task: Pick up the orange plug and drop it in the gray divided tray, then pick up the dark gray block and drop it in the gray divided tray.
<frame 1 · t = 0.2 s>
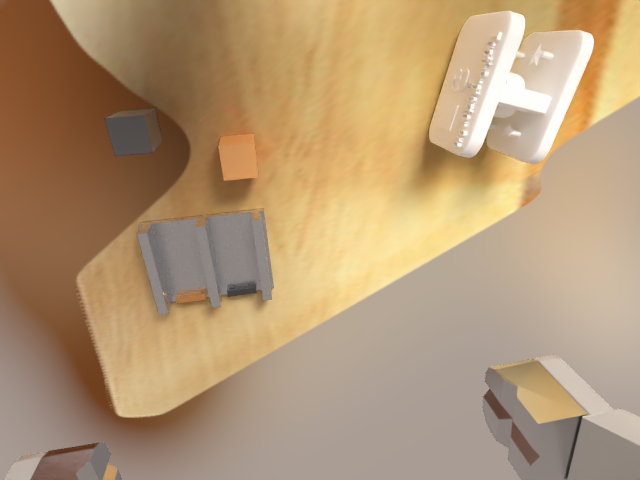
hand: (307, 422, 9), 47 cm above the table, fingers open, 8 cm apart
orange plug: (239, 150, 53), on the table
dark gray block: (142, 126, 50), on the table
cable organizer: (473, 88, 54), on the table
gray divided tray: (211, 255, 58), on the table
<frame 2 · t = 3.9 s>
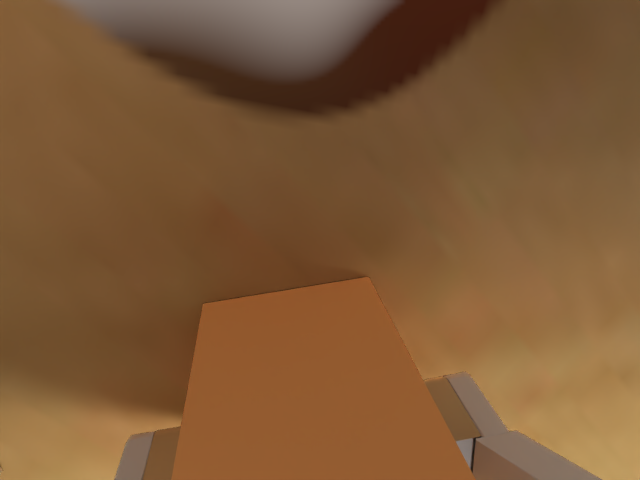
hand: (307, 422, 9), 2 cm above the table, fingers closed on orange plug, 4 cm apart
orange plug: (297, 355, 11), on the table, touching gripper
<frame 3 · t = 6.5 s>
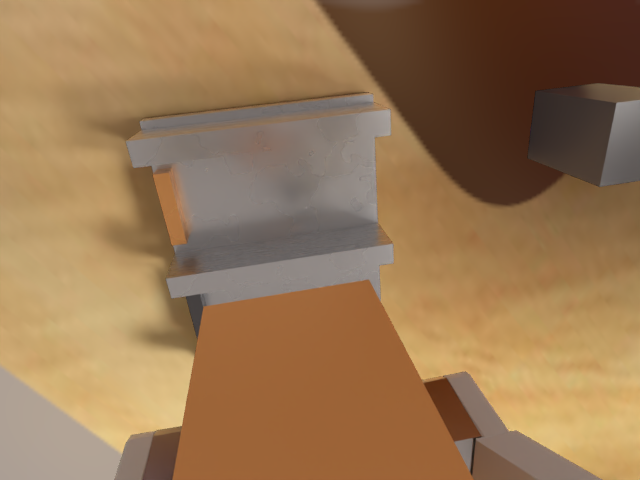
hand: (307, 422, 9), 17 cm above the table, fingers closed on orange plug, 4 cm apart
orange plug: (297, 357, 11), point 15 cm above the table, touching gripper
dark gray block: (561, 121, 25), on the table
gray divided tray: (279, 239, 26), on the table
when the fingers open (5 cm above the table, at t = 9.1 s): orange plug drops 1 cm, resting on gray divided tray.
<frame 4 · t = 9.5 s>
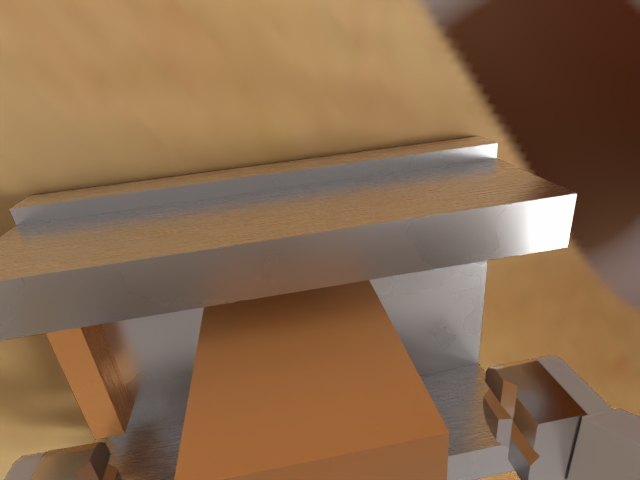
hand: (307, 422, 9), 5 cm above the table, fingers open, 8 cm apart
orange plug: (292, 324, 12), point 1 cm above the table, touching gray divided tray
gray divided tray: (300, 388, 15), on the table
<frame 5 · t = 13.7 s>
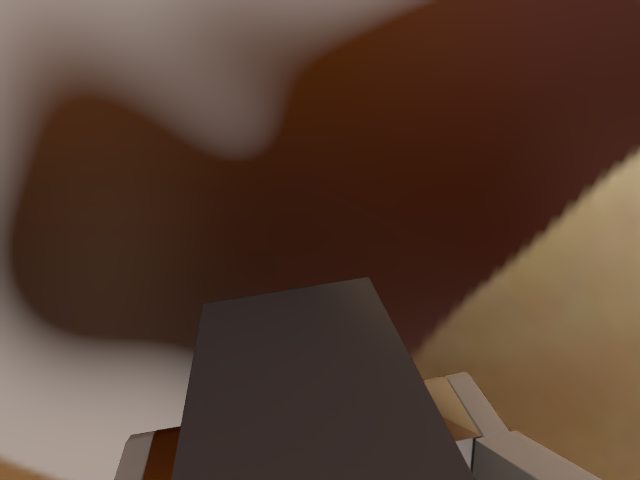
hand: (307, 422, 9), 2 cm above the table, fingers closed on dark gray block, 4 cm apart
dark gray block: (297, 355, 11), on the table, touching gripper
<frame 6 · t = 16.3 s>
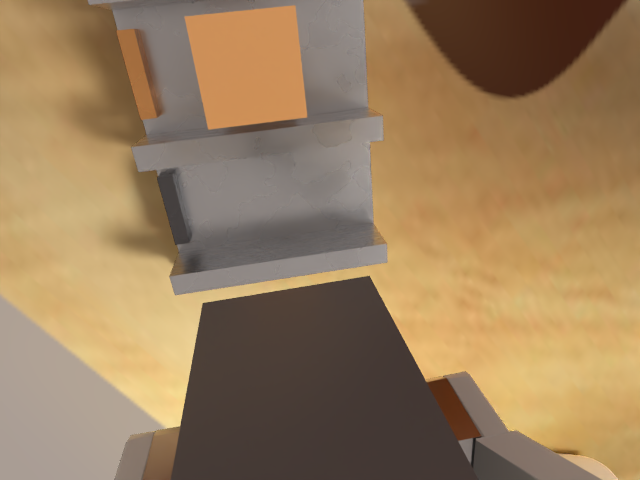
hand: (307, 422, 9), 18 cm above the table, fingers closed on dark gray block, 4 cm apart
orange plug: (251, 63, 21), point 1 cm above the table, touching gray divided tray
dark gray block: (297, 355, 11), point 16 cm above the table, touching gripper
gray divided tray: (261, 128, 24), on the table
when the fingers open (5 cm above the table, at t = 19.2 s): dark gray block drops 1 cm, resting on gray divided tray.
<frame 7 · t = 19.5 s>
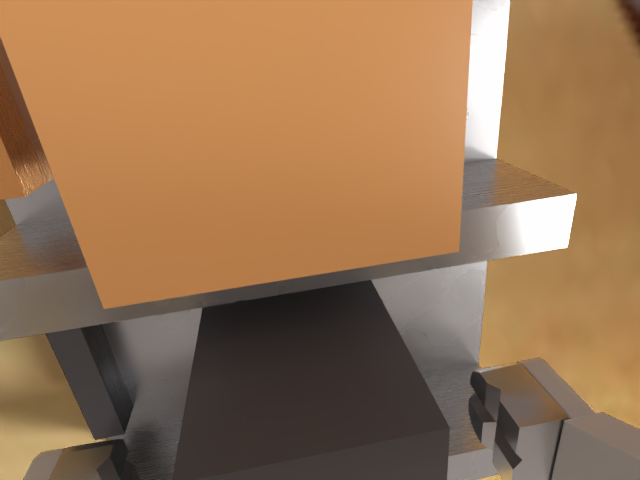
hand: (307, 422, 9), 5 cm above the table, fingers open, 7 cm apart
orange plug: (253, 66, 9), point 1 cm above the table, touching gray divided tray
dark gray block: (292, 321, 12), point 1 cm above the table, touching gray divided tray
gray divided tray: (271, 199, 12), on the table
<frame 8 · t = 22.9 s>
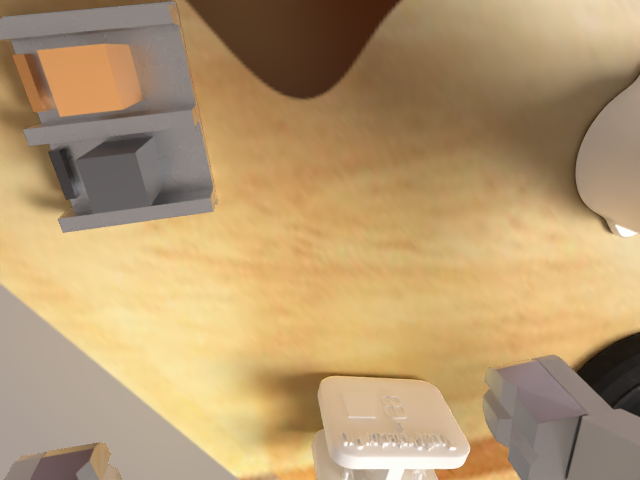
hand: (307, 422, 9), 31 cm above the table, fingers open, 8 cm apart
orange plug: (109, 75, 32), point 1 cm above the table, touching gray divided tray
dark gray block: (134, 163, 35), point 1 cm above the table, touching gray divided tray
cable organizer: (367, 402, 52), on the table
banker's lamp: (629, 393, 60), on the table
gray divided tray: (125, 119, 35), on the table
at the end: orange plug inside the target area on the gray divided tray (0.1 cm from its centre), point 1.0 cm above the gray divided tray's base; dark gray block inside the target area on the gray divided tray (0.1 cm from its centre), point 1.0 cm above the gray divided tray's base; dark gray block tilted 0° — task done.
